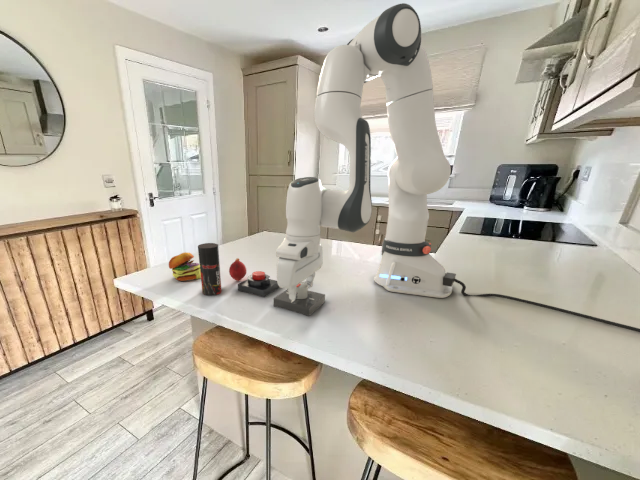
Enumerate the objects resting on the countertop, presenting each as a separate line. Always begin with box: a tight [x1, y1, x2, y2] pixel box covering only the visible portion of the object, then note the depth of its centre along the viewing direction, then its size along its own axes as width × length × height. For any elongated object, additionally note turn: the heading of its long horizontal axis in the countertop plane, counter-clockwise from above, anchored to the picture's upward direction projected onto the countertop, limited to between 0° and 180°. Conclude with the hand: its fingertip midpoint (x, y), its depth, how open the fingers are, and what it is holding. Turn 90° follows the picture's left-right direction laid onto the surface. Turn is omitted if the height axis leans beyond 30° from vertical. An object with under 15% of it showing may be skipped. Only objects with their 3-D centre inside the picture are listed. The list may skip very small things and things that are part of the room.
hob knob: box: [295, 281, 309, 299], centre depth 85 cm, size 4×4×4 cm
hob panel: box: [273, 289, 326, 317], centre depth 86 cm, size 11×10×3 cm
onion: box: [228, 257, 247, 282], centre depth 103 cm, size 6×6×8 cm
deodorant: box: [197, 242, 222, 297], centre depth 93 cm, size 6×6×15 cm
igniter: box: [237, 273, 281, 298], centre depth 97 cm, size 10×9×4 cm
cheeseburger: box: [168, 251, 201, 282], centre depth 108 cm, size 10×11×10 cm
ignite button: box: [251, 270, 266, 280], centre depth 96 cm, size 4×4×2 cm
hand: (301, 292), depth 85 cm, fingers open, 8 cm apart
